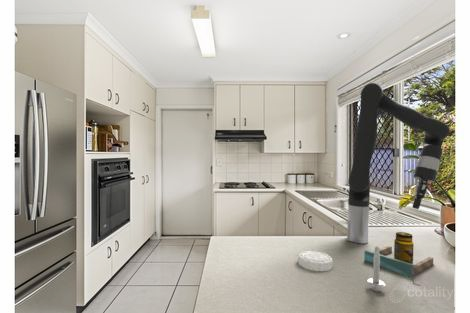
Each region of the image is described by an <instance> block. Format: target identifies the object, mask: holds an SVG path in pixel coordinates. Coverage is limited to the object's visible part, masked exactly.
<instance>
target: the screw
mask: <svg viewBox="0 0 470 313" xmlns="http://www.w3.org/2000/svg"><path fill="white" fill-rule="evenodd" d="M379 249H381V248H380V247H379V246H374V250H373V251H374V255H373V256H374V257H373V258H374V259H373V260H374V261H373V262H374V263H373V264H372V266H373V267H372V270H373V271H372V277H371V278H368V279H367V280H366V283H367V284H369V285H370V290H372V291H374V292H381V289H382V288H386V284H385V282H384V281H383V280H381V279H380V276H381V273H380V272H381V271H380V270H381V267H380V265H379V264H380V257H379V256H380V255H379Z"/></svg>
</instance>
